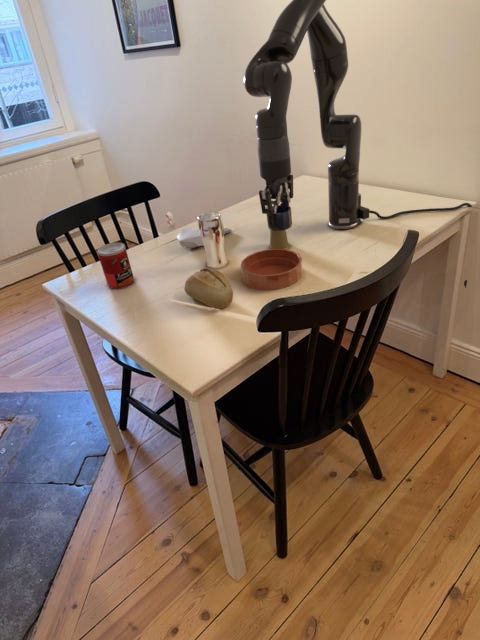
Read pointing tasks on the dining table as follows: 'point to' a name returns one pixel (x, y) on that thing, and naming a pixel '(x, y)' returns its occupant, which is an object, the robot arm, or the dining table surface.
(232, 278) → the dining table surface
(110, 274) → the canned food
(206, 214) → the beer glass
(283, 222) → the bowl
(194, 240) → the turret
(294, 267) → the serving bowl
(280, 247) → the cork
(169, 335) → the dining table surface
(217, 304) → the bread roll
